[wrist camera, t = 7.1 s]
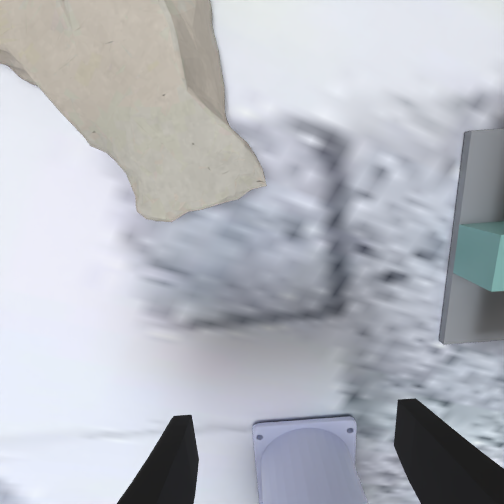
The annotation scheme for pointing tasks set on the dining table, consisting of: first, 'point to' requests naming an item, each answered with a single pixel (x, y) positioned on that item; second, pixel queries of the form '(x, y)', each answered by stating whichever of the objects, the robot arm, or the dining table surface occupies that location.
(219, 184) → the rock
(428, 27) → the dining table surface
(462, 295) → the board
